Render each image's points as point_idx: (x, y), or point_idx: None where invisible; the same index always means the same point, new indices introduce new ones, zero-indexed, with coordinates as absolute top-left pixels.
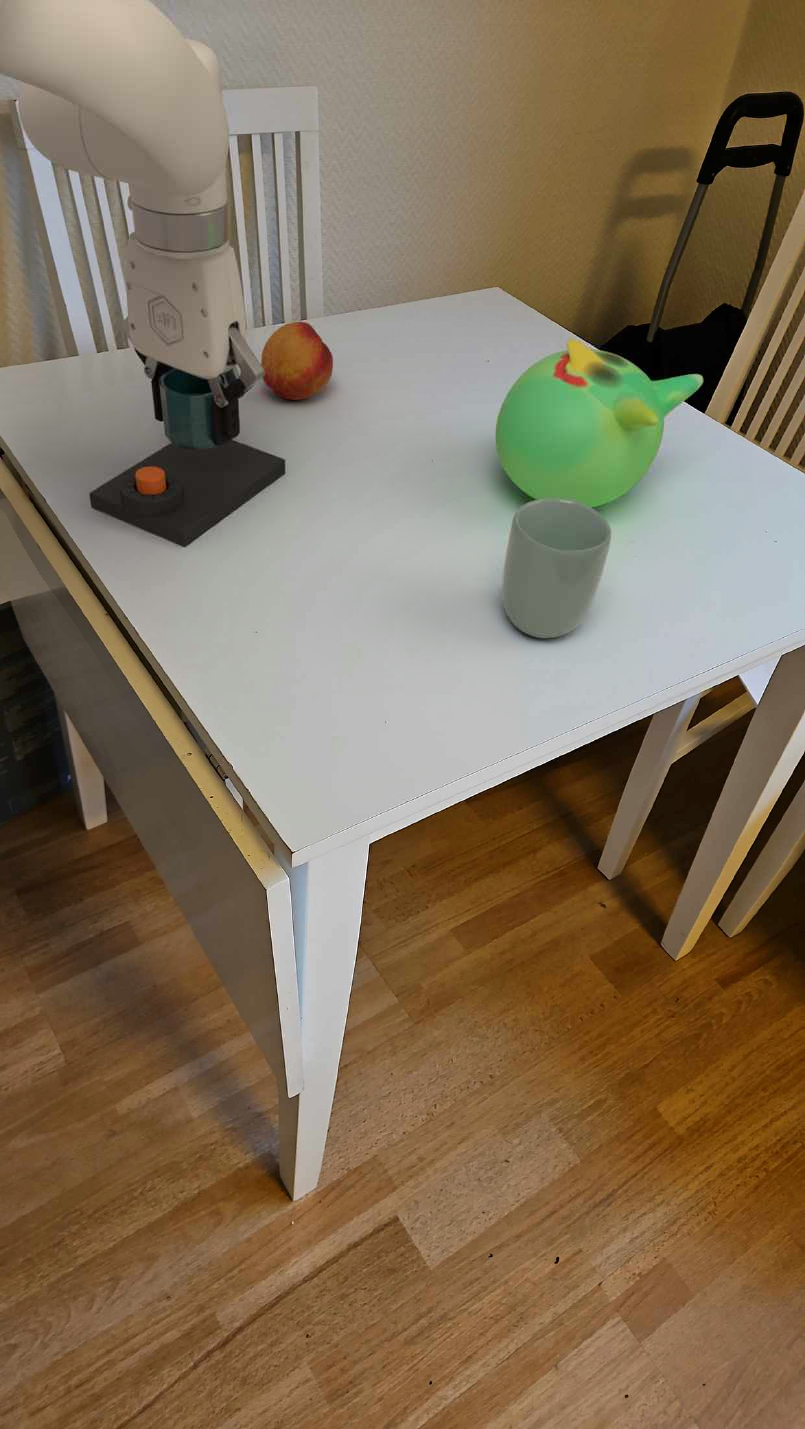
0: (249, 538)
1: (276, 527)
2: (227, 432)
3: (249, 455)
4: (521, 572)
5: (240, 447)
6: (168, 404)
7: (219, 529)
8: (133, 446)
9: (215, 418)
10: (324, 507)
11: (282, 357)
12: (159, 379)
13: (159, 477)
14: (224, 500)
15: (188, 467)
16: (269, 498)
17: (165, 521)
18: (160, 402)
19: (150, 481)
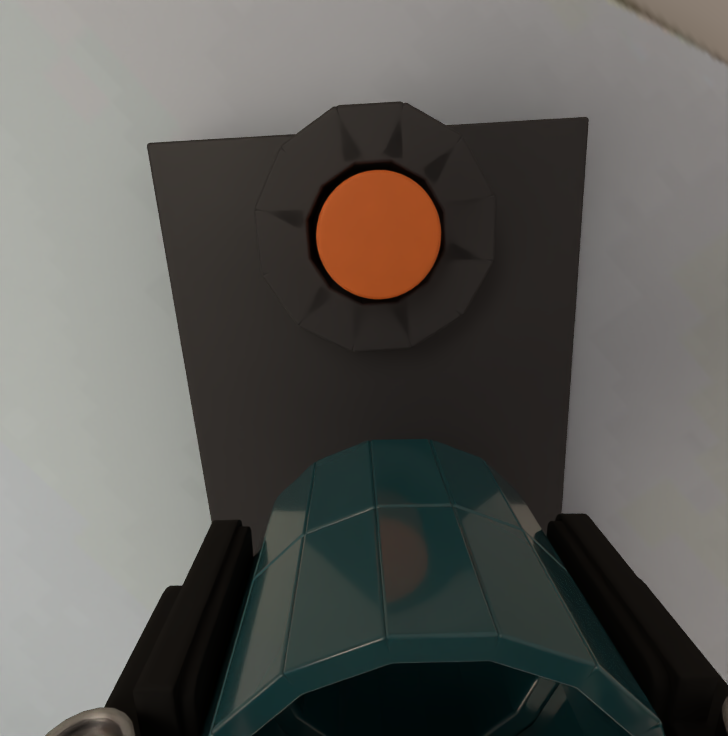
0: (71, 322)
1: (63, 414)
2: (168, 594)
3: None
4: None
5: None
6: (457, 556)
7: (170, 302)
8: (671, 472)
9: (169, 622)
10: (50, 562)
11: None
12: (650, 716)
13: (325, 239)
14: (196, 385)
15: None
16: (187, 508)
17: (243, 155)
18: (592, 585)
19: (334, 190)
